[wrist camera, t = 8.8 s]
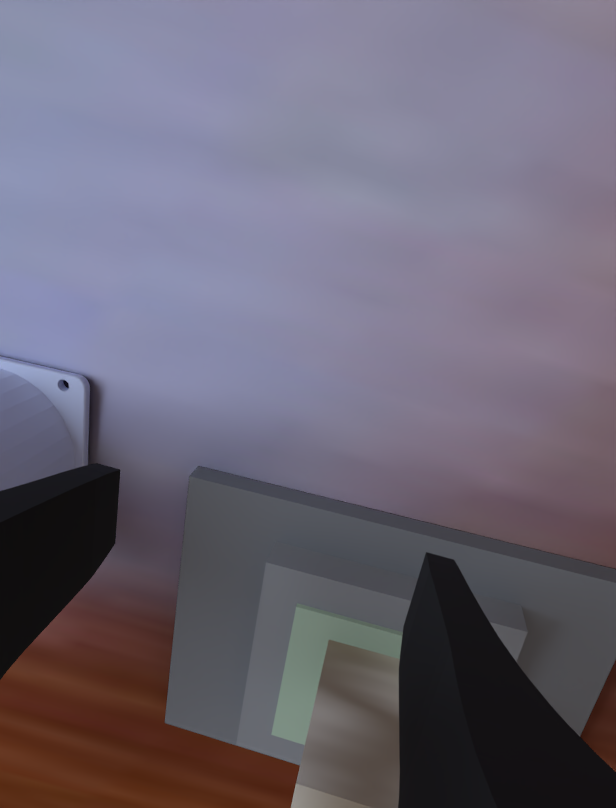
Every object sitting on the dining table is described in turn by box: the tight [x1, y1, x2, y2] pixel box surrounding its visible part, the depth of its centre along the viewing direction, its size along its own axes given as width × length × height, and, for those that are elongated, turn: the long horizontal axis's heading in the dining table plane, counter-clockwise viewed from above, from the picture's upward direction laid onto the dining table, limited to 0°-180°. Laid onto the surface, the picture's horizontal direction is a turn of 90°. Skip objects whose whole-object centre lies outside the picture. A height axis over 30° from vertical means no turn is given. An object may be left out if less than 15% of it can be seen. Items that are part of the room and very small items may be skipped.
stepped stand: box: [165, 466, 616, 765], centre depth 24 cm, size 18×14×3 cm
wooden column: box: [291, 640, 400, 808], centre depth 20 cm, size 4×4×6 cm
